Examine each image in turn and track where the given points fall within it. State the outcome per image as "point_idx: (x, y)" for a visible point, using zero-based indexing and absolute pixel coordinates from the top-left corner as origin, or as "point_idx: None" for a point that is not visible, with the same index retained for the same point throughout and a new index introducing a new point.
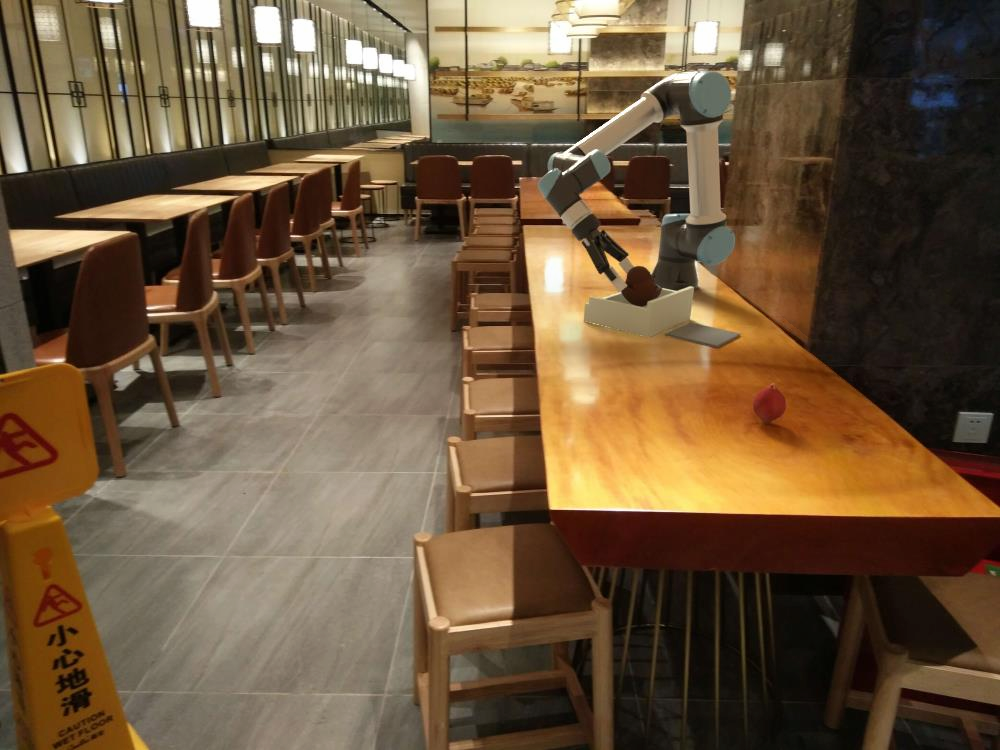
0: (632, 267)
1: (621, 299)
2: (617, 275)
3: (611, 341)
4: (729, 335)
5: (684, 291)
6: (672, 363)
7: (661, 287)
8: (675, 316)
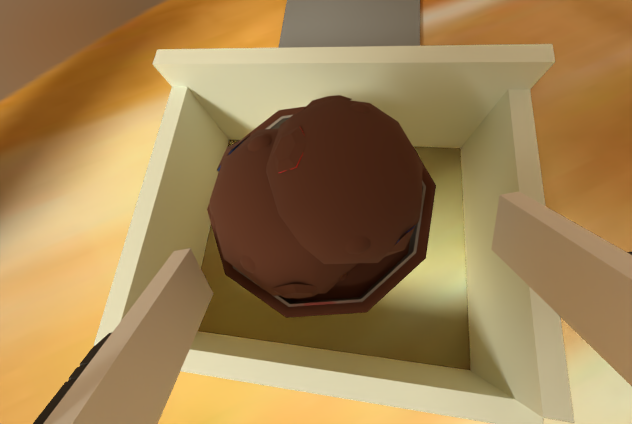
0: (153, 314)
1: (234, 347)
2: (615, 249)
3: (609, 197)
4: (320, 5)
5: (240, 51)
6: (619, 11)
7: (275, 114)
8: None
